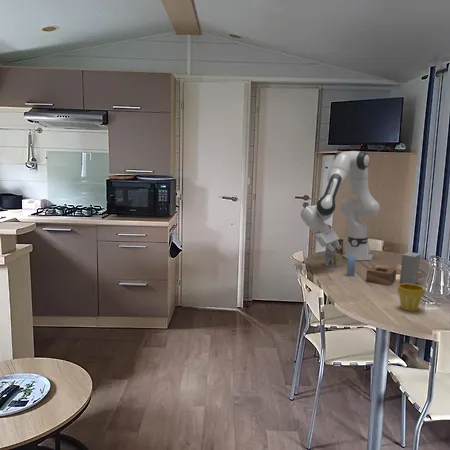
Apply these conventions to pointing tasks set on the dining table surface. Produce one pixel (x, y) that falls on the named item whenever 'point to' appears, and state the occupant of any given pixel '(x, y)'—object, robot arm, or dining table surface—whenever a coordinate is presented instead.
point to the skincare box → (410, 268)
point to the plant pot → (410, 296)
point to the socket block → (381, 275)
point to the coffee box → (334, 255)
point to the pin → (351, 264)
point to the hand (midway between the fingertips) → (336, 249)
